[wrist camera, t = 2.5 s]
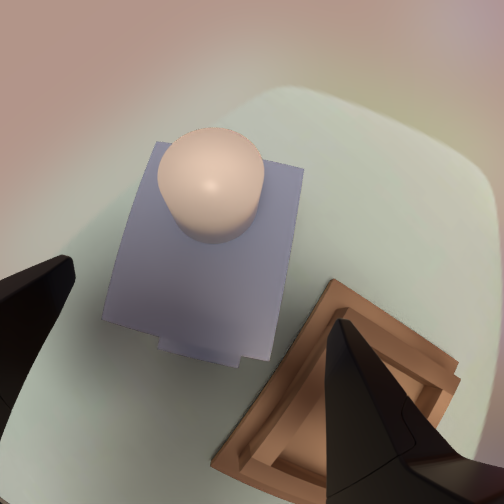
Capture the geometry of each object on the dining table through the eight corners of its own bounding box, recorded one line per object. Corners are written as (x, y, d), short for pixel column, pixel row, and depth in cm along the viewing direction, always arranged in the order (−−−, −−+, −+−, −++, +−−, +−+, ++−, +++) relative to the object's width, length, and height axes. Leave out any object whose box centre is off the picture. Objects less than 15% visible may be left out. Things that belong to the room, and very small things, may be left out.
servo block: (245, 360, 18) (268, 422, 6) (164, 342, 17) (60, 363, 6) (272, 228, 20) (322, 103, 8) (195, 212, 19) (158, 76, 8)
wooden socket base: (353, 516, 15) (368, 536, 12) (210, 461, 16) (207, 482, 13) (452, 361, 18) (478, 363, 15) (330, 280, 19) (346, 272, 16)
